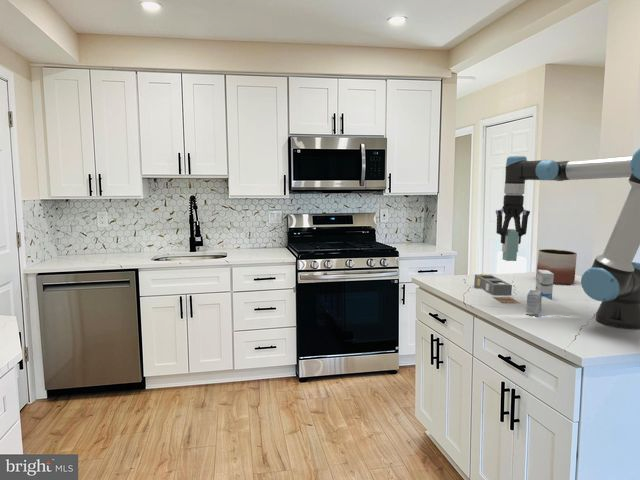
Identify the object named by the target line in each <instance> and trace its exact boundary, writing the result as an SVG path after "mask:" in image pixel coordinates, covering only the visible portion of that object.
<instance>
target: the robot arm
mask: <svg viewBox="0 0 640 480" xmlns="http://www.w3.org/2000/svg"><path fill="white" fill-rule="evenodd" d="M505 163H506V164H505V181H504V191H503V194H504V195H503V201H502V202H503V206H502V208H501V209H497V210H495V214H496V230H495V231H496V234H497V235H500V244H501V245H502V247H501V248H502V249H501V252H503V251H504V252H507V240H508V236H506V233H507V229H509V226H510V222H511V220H512V218H513V220H514V229H515V230H516V232H518V245H517V253H519V244H521V242H522V237H523V236H524V235H525V236H526V234H527V228H528V221H529V215H530V213H531V211H530V210H526V209H525V208H524V202H525V201H524V200H525V196H524V194H525V190H526V188H525V186H526V184H525V183H526V181H557V182H564V181H572V180H573V181H575V180H576V181H577V180H597V179H601V180H602V179H620V178H621V179H622V178H628V183H629V184H630V187H631V188H630V190H629V192H628V194H627V197H626V200H625V201H624V204H623V206H622V209H621V211H620V214H619V215H618V218H617V220H616V223H615V224H614V227H613V229H612V232H611V234H610V237H609V239H608V241H607V243H606V245H605V248H604V250H603V253H602V254H600V255H599V254H598V255H597V256H596V257H595V258H594V261H593V262H592V265H591V267H590V268H588V269H587V270H585V271H584V272H583V274H582V275H581V278H580V285H581V288H582V290H583V291H584V293H585V295H587V296H588V297H589V298H591V299H592V300H594V301H597V302H601V303H600V305H599V307H598V309H597V311H596V313H595V321H596V322H598V323H601V324H603V325H606V326H610V327H614V328H619V329H627V330H629V329H630V330H640V262H634V259H635V256H636V254H637V252H638V250H639V248H640V148H639V149H637V150H636V151H635V153H633V155H625V156H611V157H609V156H608V157H601V158H600V157H599V158H588V159H576V160H560V161H556V160H553V159H542V160H528V159H527V156H525V155H511V156H510V155H509V156H508V157H507V158H506V162H505ZM503 214H504V219H503ZM521 214H522V217H521Z"/></svg>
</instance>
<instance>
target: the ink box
mask: <svg viewBox="0 0 640 480" xmlns="http://www.w3.org/2000/svg"><path fill="white" fill-rule="evenodd" d="M536 272H537V278H536V280H535V290H536V291H542V297H545V298H546V299H548V300H553V288H554V284H553V279H554V274H553V273H551V272H550V271H548V270H537V269H536Z"/></svg>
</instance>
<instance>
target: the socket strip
mask: <svg viewBox="0 0 640 480" xmlns="http://www.w3.org/2000/svg"><path fill="white" fill-rule="evenodd" d="M473 285H474V286H473V287H474V288H476V289H477V290H478V289H483V290H484V291H486V292H487V293H489V294H491V295H492V296H512V291H513V290H512V289H513V285H512V284H510V283H508V282H507V281H504V280H502V279H500V278H498V277H497V276H494V275H493V274H486V273H481V274H474V284H473Z"/></svg>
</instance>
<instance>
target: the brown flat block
mask: <svg viewBox="0 0 640 480" xmlns="http://www.w3.org/2000/svg"><path fill="white" fill-rule="evenodd" d="M492 298H493V299H494V300H496V301H498V302H499V303H500V304H521V302H519V301H518V300H516V299H515V298H512V297H511V296H492Z"/></svg>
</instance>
